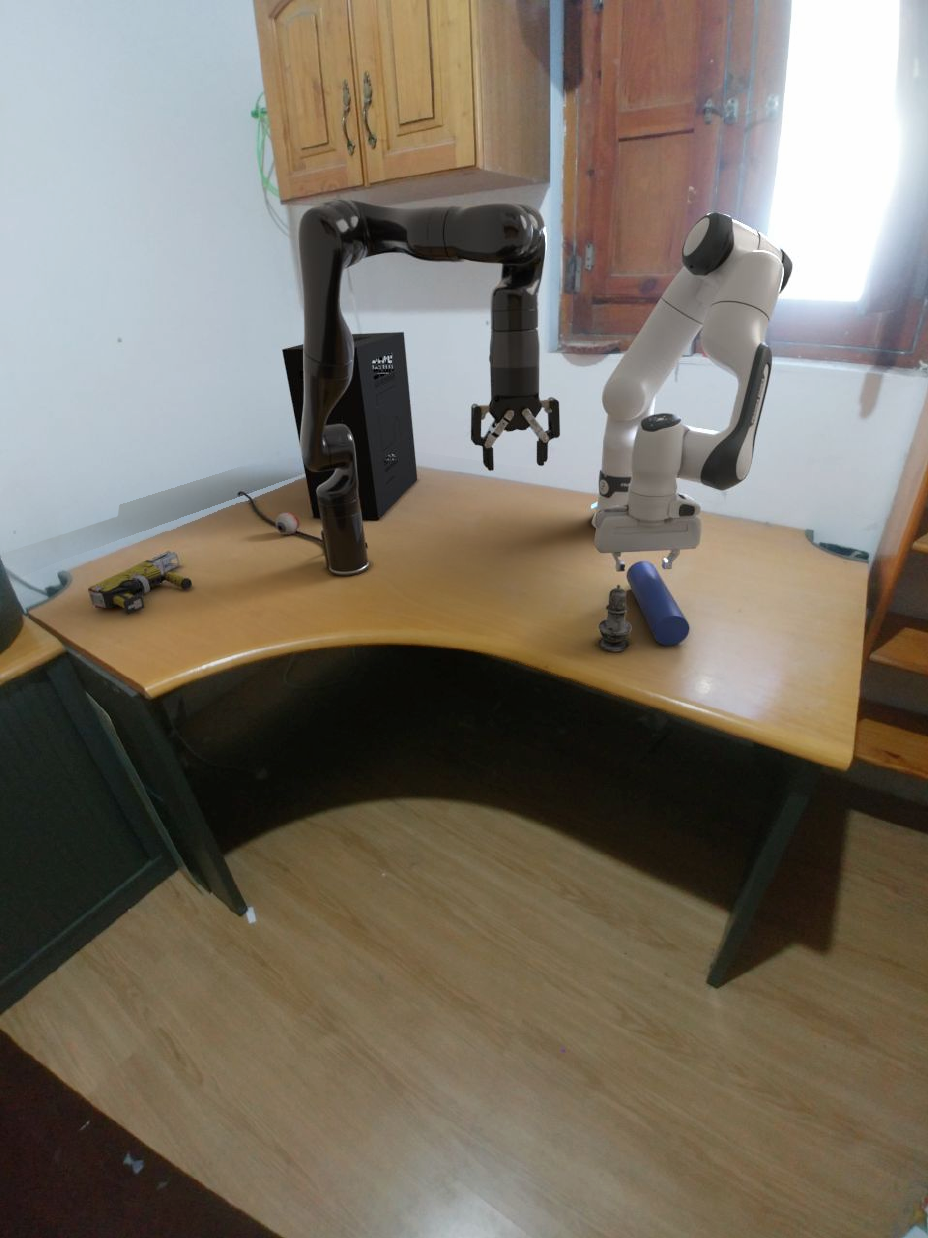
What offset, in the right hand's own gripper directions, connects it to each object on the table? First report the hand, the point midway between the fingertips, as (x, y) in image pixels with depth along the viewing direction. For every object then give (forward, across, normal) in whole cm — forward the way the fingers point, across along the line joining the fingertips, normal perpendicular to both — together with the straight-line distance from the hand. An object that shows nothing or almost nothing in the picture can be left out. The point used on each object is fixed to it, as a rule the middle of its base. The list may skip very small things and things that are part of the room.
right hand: (643, 569), depth 122 cm
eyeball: (+7, -84, +45) cm, 95 cm away
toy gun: (+7, -107, +14) cm, 108 cm away
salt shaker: (+6, -10, -18) cm, 22 cm away
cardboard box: (+7, -65, +73) cm, 98 cm away
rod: (+6, 0, -8) cm, 10 cm away
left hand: (-26, -27, -11) cm, 39 cm away
